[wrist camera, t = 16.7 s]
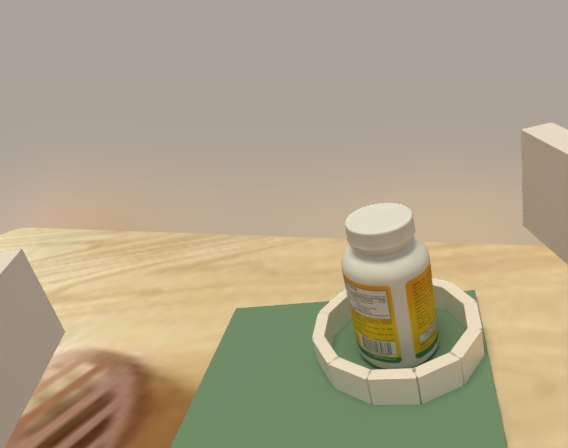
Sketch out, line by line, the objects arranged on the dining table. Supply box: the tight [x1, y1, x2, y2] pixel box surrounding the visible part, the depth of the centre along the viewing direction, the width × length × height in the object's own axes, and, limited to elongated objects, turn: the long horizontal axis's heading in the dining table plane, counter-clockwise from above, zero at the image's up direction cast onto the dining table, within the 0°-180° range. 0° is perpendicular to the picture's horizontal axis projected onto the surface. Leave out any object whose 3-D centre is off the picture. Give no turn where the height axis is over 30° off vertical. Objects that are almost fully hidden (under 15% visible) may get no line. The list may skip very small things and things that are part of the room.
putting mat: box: [170, 290, 507, 448], centre depth 33 cm, size 19×15×1 cm
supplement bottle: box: [342, 203, 439, 369], centre depth 32 cm, size 5×5×10 cm
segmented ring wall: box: [312, 278, 484, 405], centre depth 33 cm, size 11×11×2 cm
